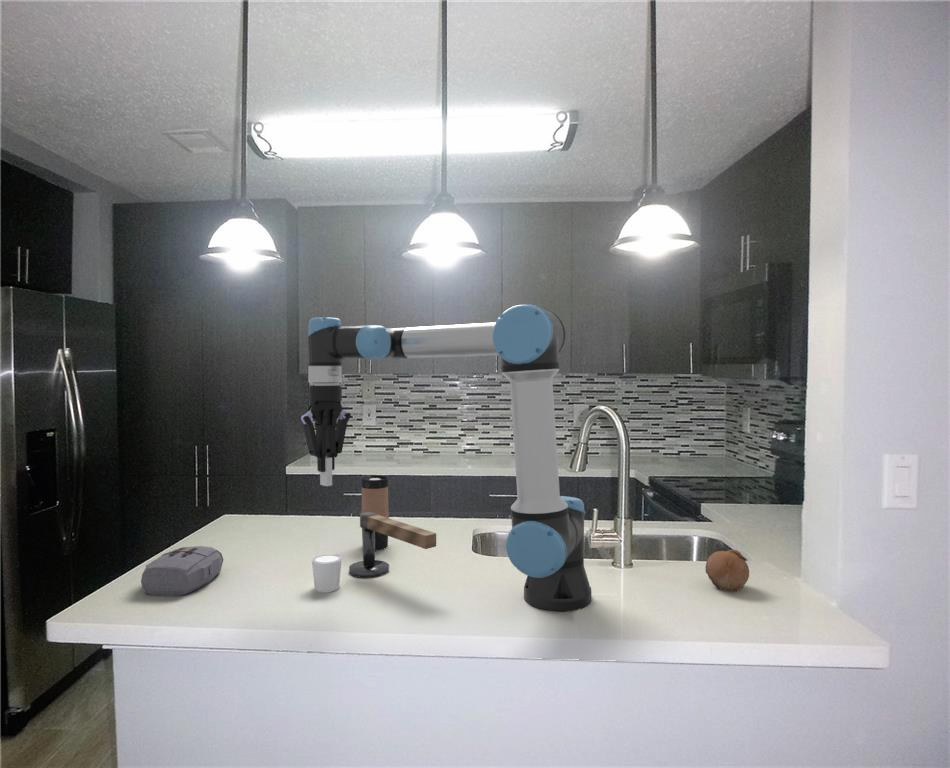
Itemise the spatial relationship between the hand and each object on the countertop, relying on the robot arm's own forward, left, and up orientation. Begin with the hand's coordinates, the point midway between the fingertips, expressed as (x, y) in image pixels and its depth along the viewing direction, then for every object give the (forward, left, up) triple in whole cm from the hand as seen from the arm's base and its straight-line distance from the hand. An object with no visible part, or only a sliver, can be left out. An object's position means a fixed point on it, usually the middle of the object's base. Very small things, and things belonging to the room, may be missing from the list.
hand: (326, 484), depth 145 cm
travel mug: (+17, -28, -25) cm, 41 cm away
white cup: (0, 0, -25) cm, 25 cm away
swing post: (+2, -14, -24) cm, 28 cm away
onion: (-70, -63, -25) cm, 97 cm away
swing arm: (-9, -13, -13) cm, 21 cm away
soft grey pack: (+29, +20, -25) cm, 43 cm away
